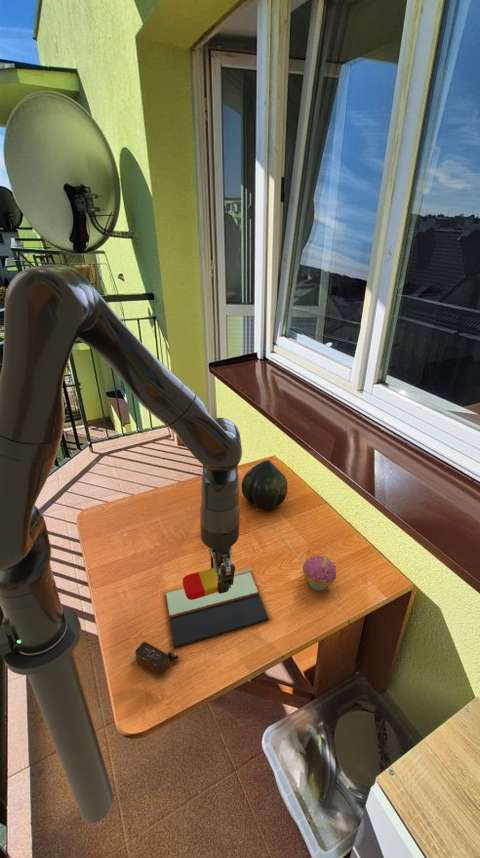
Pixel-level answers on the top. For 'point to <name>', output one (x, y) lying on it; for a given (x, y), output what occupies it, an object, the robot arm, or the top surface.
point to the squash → (264, 485)
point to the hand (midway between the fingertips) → (219, 579)
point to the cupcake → (319, 572)
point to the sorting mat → (215, 611)
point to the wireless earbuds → (153, 658)
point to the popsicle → (204, 583)
